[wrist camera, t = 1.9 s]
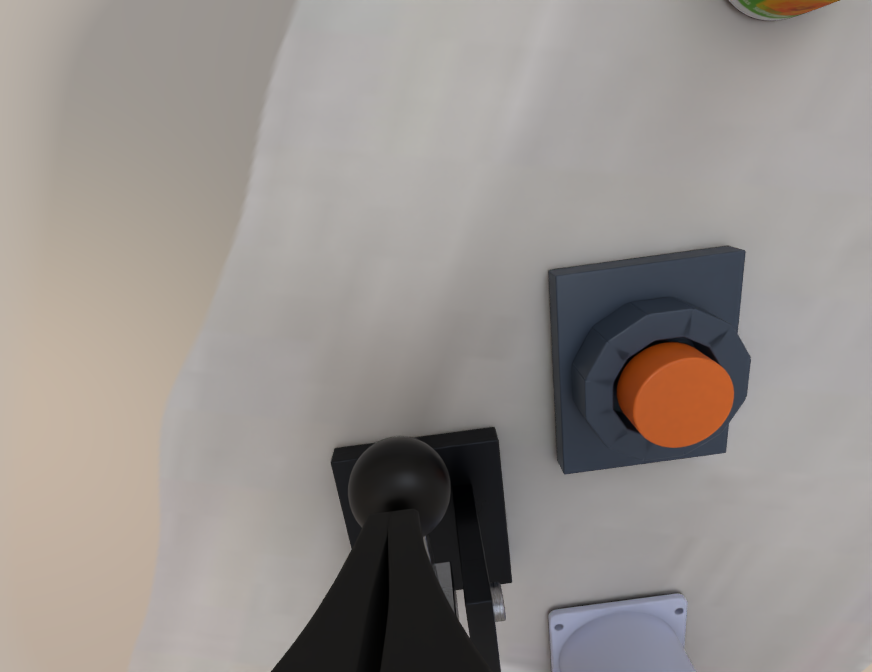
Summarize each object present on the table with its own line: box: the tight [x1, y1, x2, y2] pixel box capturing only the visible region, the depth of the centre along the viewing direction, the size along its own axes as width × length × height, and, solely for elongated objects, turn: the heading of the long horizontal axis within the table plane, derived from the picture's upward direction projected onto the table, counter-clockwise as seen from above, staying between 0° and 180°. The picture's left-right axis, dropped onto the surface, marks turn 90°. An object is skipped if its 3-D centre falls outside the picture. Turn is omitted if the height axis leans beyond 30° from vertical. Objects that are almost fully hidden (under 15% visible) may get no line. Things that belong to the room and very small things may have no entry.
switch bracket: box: [331, 427, 512, 672], centre depth 22 cm, size 9×8×8 cm
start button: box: [617, 342, 734, 448], centre depth 20 cm, size 4×4×2 cm
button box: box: [548, 246, 751, 474], centre depth 22 cm, size 10×8×3 cm
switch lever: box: [348, 436, 459, 620], centre depth 17 cm, size 11×3×3 cm, turn 8°
